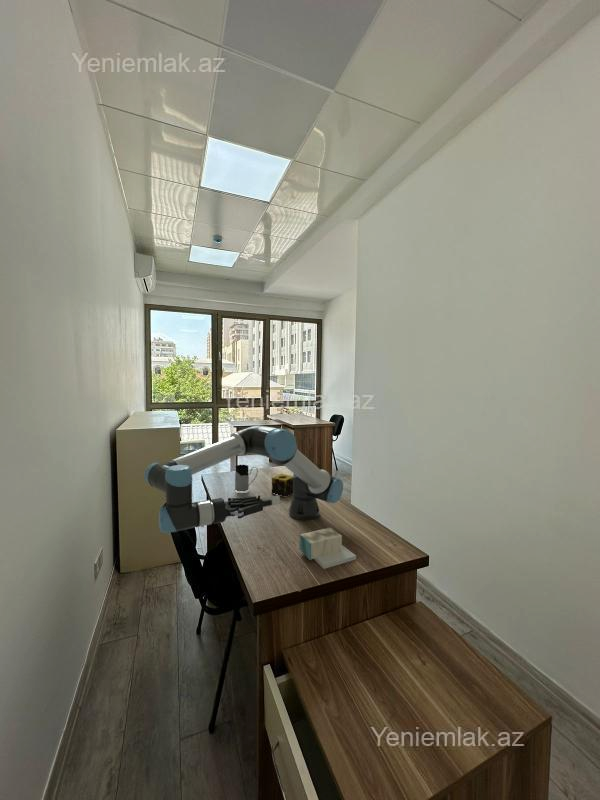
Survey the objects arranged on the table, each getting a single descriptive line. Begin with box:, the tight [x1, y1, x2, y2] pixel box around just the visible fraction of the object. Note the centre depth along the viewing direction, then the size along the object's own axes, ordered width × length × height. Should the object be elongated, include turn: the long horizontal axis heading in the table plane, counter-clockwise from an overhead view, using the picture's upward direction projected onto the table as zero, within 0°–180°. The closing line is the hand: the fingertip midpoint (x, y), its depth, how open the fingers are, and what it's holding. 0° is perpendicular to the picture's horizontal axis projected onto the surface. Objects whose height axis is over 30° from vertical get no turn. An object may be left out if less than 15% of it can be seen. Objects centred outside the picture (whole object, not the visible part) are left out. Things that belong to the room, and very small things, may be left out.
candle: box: [271, 473, 293, 497], centre depth 191 cm, size 10×10×10 cm
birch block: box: [298, 527, 343, 561], centre depth 125 cm, size 8×6×14 cm
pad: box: [313, 544, 357, 570], centre depth 127 cm, size 18×14×2 cm
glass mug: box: [234, 464, 259, 491], centre depth 195 cm, size 9×14×15 cm, turn 119°
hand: (278, 499), depth 115 cm, fingers closed
